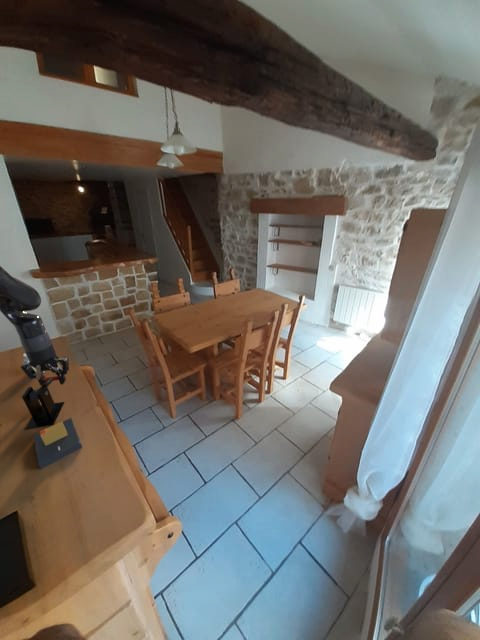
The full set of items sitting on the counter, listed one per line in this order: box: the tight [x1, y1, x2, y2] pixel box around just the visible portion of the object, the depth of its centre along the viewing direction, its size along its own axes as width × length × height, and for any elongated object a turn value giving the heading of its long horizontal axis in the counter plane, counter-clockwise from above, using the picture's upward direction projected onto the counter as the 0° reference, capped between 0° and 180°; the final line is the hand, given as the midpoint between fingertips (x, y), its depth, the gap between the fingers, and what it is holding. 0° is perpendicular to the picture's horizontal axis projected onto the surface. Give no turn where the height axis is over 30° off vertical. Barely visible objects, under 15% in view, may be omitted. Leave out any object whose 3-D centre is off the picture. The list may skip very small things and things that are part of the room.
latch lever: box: [29, 375, 59, 401], centre depth 85 cm, size 13×5×2 cm, turn 15°
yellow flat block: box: [39, 421, 68, 446], centre depth 73 cm, size 6×2×5 cm, turn 132°
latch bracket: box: [21, 385, 65, 431], centre depth 82 cm, size 10×8×12 cm
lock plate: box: [32, 417, 83, 470], centre depth 75 cm, size 12×10×3 cm
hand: (54, 383), depth 92 cm, fingers closed on latch lever, 5 cm apart
